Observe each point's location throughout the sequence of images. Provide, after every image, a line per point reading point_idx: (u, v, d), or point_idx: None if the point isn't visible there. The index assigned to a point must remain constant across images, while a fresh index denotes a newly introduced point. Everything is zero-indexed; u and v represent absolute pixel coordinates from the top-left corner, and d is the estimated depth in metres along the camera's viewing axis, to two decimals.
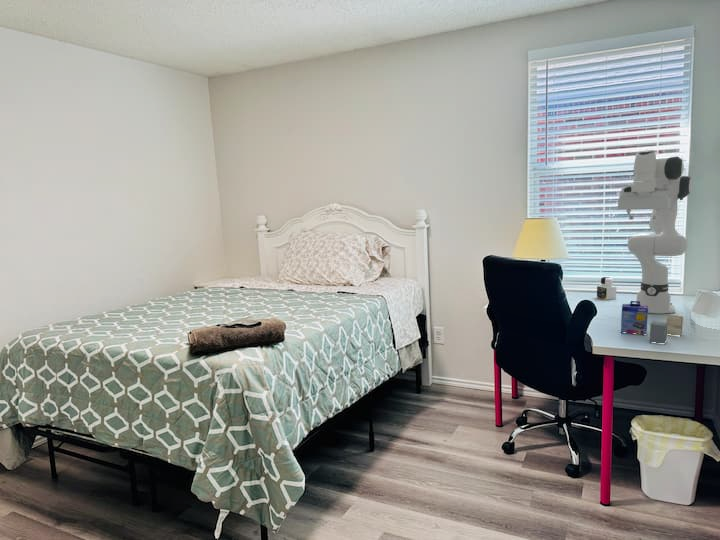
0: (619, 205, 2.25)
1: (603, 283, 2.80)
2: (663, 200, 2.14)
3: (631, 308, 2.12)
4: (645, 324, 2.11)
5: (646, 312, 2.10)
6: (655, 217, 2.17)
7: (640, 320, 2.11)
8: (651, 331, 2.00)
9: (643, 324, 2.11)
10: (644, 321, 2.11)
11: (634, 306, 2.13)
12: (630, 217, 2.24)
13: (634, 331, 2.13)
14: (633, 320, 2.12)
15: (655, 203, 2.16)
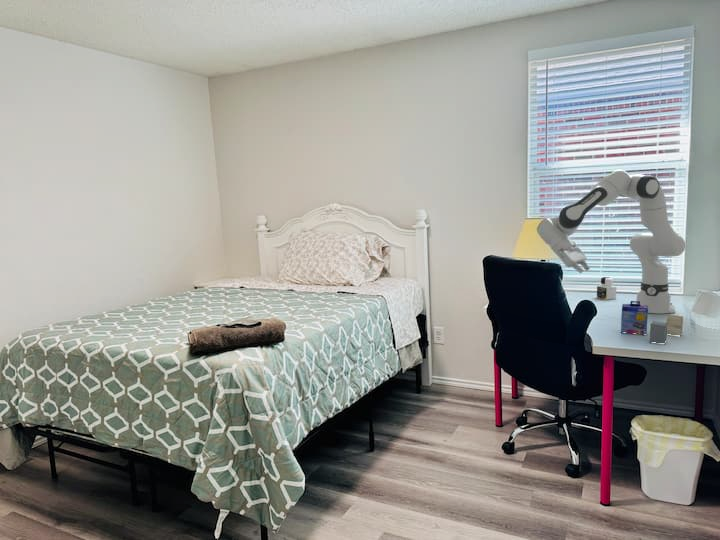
0: None
1: (603, 283, 2.80)
2: None
3: (631, 308, 2.12)
4: (645, 324, 2.11)
5: (646, 312, 2.10)
6: None
7: (640, 320, 2.11)
8: (651, 331, 2.00)
9: (643, 324, 2.11)
10: (644, 321, 2.11)
11: (634, 306, 2.13)
12: None
13: (634, 331, 2.13)
14: (633, 320, 2.12)
15: None
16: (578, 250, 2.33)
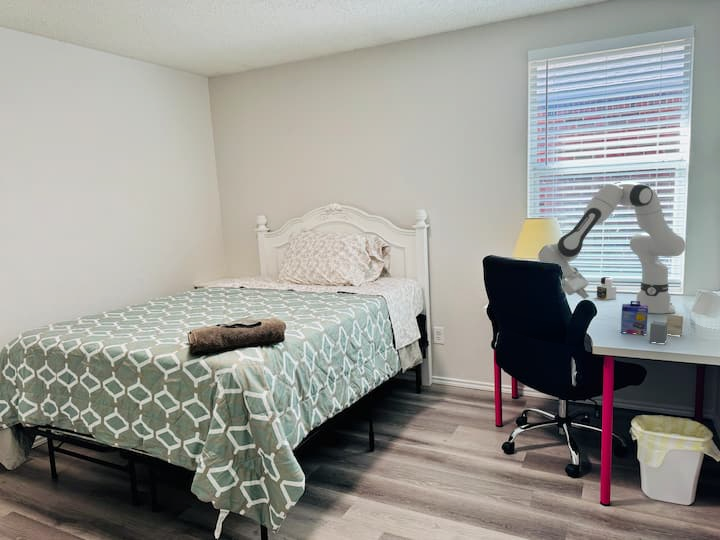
0: None
1: (603, 283, 2.80)
2: None
3: (631, 308, 2.12)
4: (645, 324, 2.11)
5: (646, 312, 2.10)
6: None
7: (640, 320, 2.11)
8: (651, 331, 2.00)
9: (643, 324, 2.11)
10: (644, 321, 2.11)
11: (634, 306, 2.13)
12: None
13: (634, 331, 2.13)
14: (633, 320, 2.12)
15: None
16: (580, 276, 2.35)
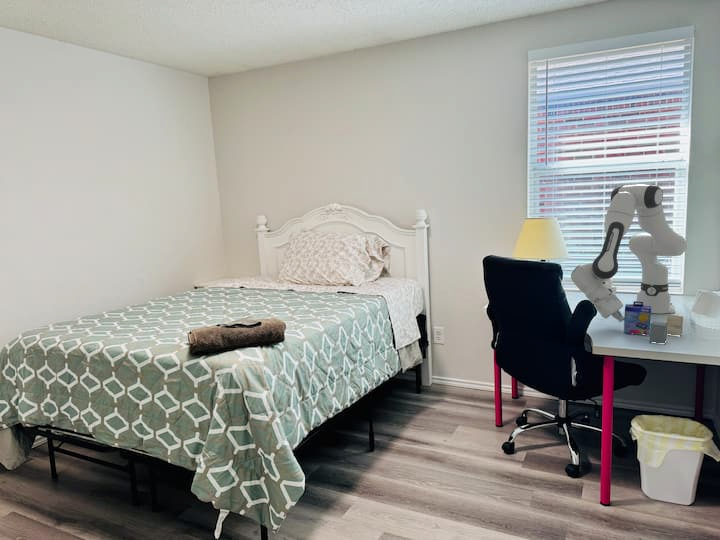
0: None
1: (603, 283, 2.80)
2: None
3: (634, 308, 2.11)
4: (648, 324, 2.10)
5: (649, 312, 2.09)
6: None
7: (643, 320, 2.10)
8: (651, 331, 2.00)
9: (646, 325, 2.10)
10: (647, 321, 2.10)
11: (637, 306, 2.12)
12: None
13: (637, 331, 2.12)
14: (636, 321, 2.12)
15: None
16: (614, 297, 2.26)
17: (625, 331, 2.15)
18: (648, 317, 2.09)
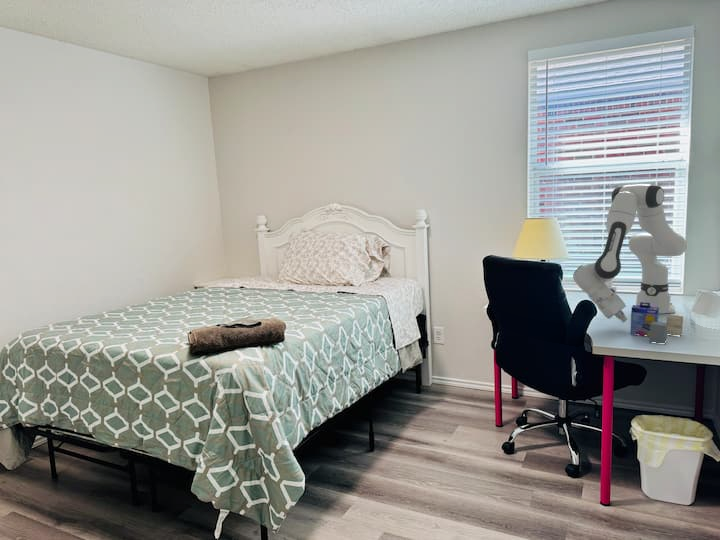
0: None
1: None
2: None
3: (640, 309, 2.09)
4: None
5: (656, 314, 2.06)
6: None
7: (649, 322, 2.08)
8: (651, 331, 2.00)
9: None
10: None
11: (644, 307, 2.10)
12: None
13: (643, 333, 2.10)
14: (642, 322, 2.10)
15: None
16: (617, 297, 2.25)
17: (631, 332, 2.13)
18: (655, 318, 2.07)
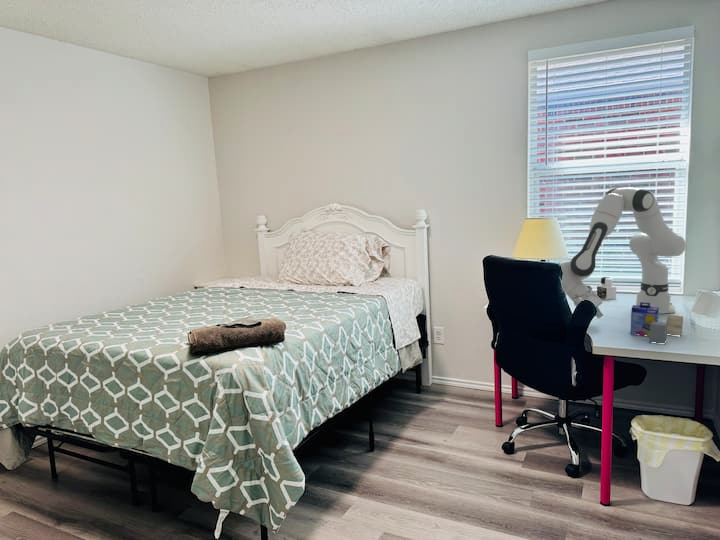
0: None
1: (603, 283, 2.80)
2: None
3: (640, 309, 2.09)
4: None
5: (656, 314, 2.06)
6: None
7: (649, 322, 2.08)
8: (651, 331, 2.00)
9: None
10: None
11: (644, 307, 2.10)
12: None
13: (643, 333, 2.10)
14: (642, 322, 2.10)
15: None
16: (593, 294, 2.32)
17: (631, 332, 2.13)
18: (655, 318, 2.07)
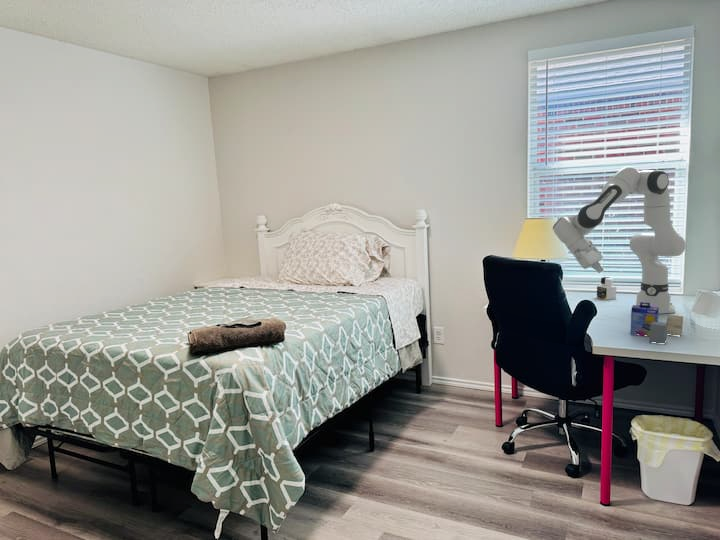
0: None
1: (603, 283, 2.80)
2: None
3: (640, 309, 2.09)
4: None
5: (656, 314, 2.06)
6: None
7: (649, 322, 2.08)
8: (651, 331, 2.00)
9: None
10: None
11: (644, 307, 2.10)
12: None
13: (643, 333, 2.10)
14: (642, 322, 2.10)
15: None
16: (594, 249, 2.30)
17: (631, 332, 2.13)
18: (655, 318, 2.07)
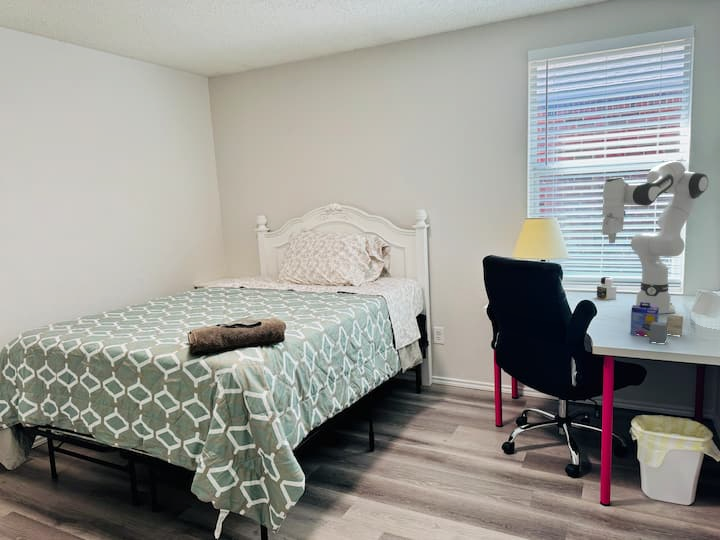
0: None
1: (603, 283, 2.80)
2: None
3: (640, 309, 2.09)
4: None
5: (656, 314, 2.06)
6: None
7: (649, 322, 2.08)
8: (651, 331, 2.00)
9: None
10: None
11: (644, 307, 2.10)
12: None
13: (643, 333, 2.10)
14: (642, 322, 2.10)
15: None
16: (621, 220, 2.33)
17: (631, 332, 2.13)
18: (655, 318, 2.07)
